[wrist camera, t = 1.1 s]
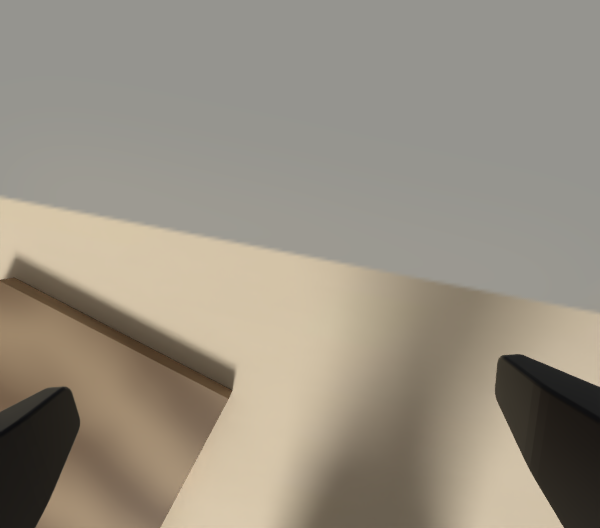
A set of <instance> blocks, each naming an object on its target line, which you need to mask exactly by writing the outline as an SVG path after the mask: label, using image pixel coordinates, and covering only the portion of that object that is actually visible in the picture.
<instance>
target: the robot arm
mask: <svg viewBox="0 0 600 528" xmlns="http://www.w3.org/2000/svg"><path fill="white" fill-rule="evenodd" d="M495 395H496V399H497V402H498V404H499V406H500V408H501V410H502V412H503V415H504V417H505V419H506V421H507V423H508V425H509V427H510V430H511V432H512V434H513V436H514V438H515V440H516V442H517V445H518V447H519V449H520V451H521V453H522V455H523V457H524V459H525V461H526V463H527V465H528V467H529V469H530V471H531V473H532V475H533V476H534V478H535V480H536V482H537V483H538V485H539V487H540V488H541V490H542V492H543V493H544V495H545V497H546V498H547V500H548V502H549V503H550V505H551V507H552V508H553V510H554V512H555V513H556V515H557V517H558V518H559V520H560V522H561V524H562V525H563V527H564V528H600V387H598V386H596V385H593V384H591V383H589V382H586V381H584V380H581V379H579V378H577V377H574V376H572V375H569V374H567V373H565V372H562V371H560V370H558V369H555V368H553V367H550V366H548V365H546V364H543V363H541V362H538V361H536V360H534V359H531V358H529V357H526V356H524V355H521V354H514V355H503V356H501V357H500V358H499V360H498V363H497V373H496V384H495ZM79 428H80V416H79V413H78V410H77V406H76V403H75V400H74V397H73V393H72V391H71V390H70V388H68V387H66V386H61V387H49V388H46V389H43V390H41V391H40V392H38V393H36V394H34V395H32V396H30V397H28V398H26V399H24V400H22V401H20V402H18V403H16V404H14V405H12V406H10V407H8V408H6V409H5V410H3V411H1V412H0V528H36V526H37V524H38V522H39V520H40V518H41V516H42V514H43V512H44V510H45V508H46V506H47V504H48V502H49V500H50V498H51V496H52V494H53V491H54V489H55V487H56V484H57V482H58V480H59V477H60V475H61V472H62V470H63V468H64V465H65V463H66V460H67V458H68V456H69V453H70V451H71V448H72V446H73V444H74V441H75V439H76V436H77V434H78V431H79Z"/></svg>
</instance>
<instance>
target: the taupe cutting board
mask: <svg viewBox="0 0 600 528" xmlns="http://www.w3.org/2000/svg"><path fill="white" fill-rule="evenodd" d="M61 386H66V387H68V388H70V390H71V391H72V393H73V397H74V400H75V403H76V406H77V410H78V413H79V416H80V428H79V431H78V434H77V436H76V439H75V441H74V444H73V446H72V448H71V451H70V453H69V456H68V458H67V460H66V463H65V465H64V468H63V470H62V472H61V475H60V477H59V480H58V482H57V484H56V487H55V489H54V491H53V494H52V496H51V498H50V500H49V502H48V504H47V506H46V508H45V510H44V512H43V514H42V516H41V518H40V520H39V522H38V524H37V526H36V528H160V527H161V525H162V523H163V521H164V520H165V518H166V516H167V514H168V512H169V510H170V508H171V506H172V504H173V503H174V501H175V499H176V497H177V495H178V493H179V491H180V489H181V488H182V486H183V484H184V482H185V480H186V478H187V476H188V474H189V472H190V471H191V469H192V467H193V465H194V463H195V461H196V459H197V457H198V455H199V454H200V452H201V450H202V448H203V446H204V444H205V442H206V440H207V438H208V437H209V435H210V433H211V431H212V429H213V427H214V425H215V423H216V422H217V420H218V418H219V416H220V414H221V412H222V410H223V408H224V406H225V405H226V403H227V401H228V399H229V397H230V395H231V392H232V390H231V389H229V388H227V387H225V386H223V385H221V384H219V383H217V382H215V381H213V380H211V379H209V378H207V377H205V376H203V375H201V374H200V373H198V372H196V371H194V370H192V369H190V368H188V367H186V366H184V365H182V364H180V363H178V362H176V361H174V360H172V359H171V358H169V357H167V356H165V355H163V354H161V353H159V352H157V351H155V350H153V349H151V348H149V347H147V346H145V345H143V344H141V343H140V342H138V341H136V340H134V339H132V338H130V337H128V336H126V335H124V334H122V333H120V332H118V331H116V330H114V329H112V328H110V327H109V326H107V325H105V324H103V323H101V322H99V321H97V320H95V319H93V318H91V317H89V316H87V315H85V314H83V313H81V312H79V311H78V310H76V309H74V308H72V307H70V306H68V305H66V304H64V303H62V302H60V301H58V300H56V299H54V298H52V297H50V296H49V295H47V294H45V293H43V292H41V291H39V290H37V289H35V288H33V287H31V286H29V285H27V284H25V283H23V282H21V281H19V280H18V279H16V278H9V279H2V280H0V412H1V411H3V410H5V409H6V408H8V407H10V406H12V405H14V404H16V403H18V402H20V401H22V400H24V399H26V398H28V397H30V396H32V395H34V394H36V393H38V392H40V391H41V390H43V389H46V388H49V387H61Z"/></svg>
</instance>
